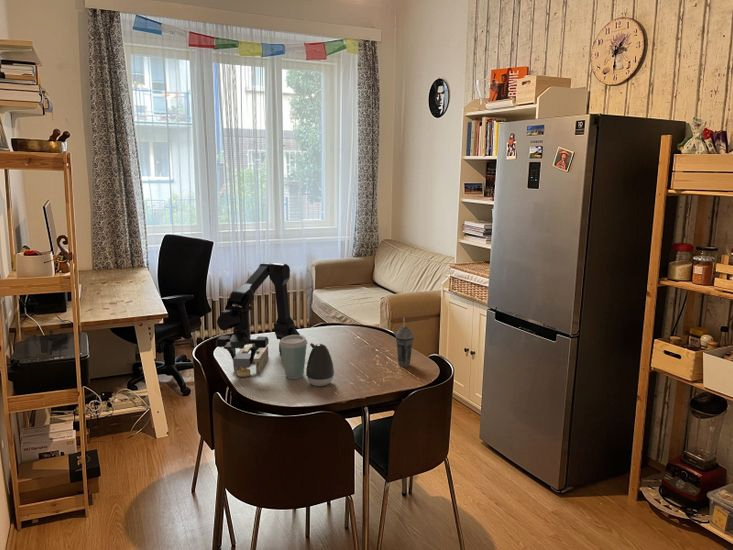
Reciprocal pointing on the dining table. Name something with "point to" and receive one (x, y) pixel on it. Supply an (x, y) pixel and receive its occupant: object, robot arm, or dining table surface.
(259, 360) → the keyhole board
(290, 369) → the disposable coffee cup
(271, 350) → the dining table surface
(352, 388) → the dining table surface
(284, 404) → the dining table surface
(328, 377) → the pump dispenser
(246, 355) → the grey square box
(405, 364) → the beverage cup
